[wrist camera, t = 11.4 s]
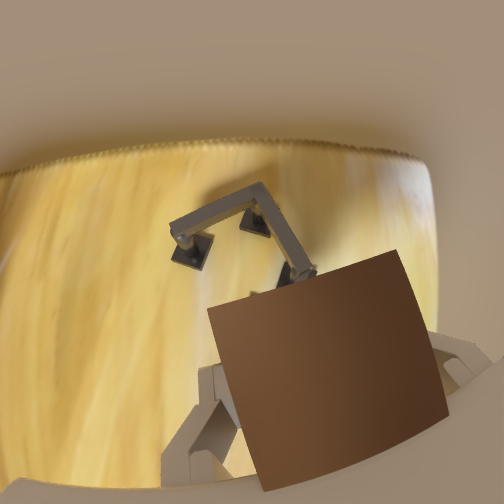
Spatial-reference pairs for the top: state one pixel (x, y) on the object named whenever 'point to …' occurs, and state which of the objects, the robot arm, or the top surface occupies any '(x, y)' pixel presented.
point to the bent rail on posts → (254, 220)
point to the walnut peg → (329, 370)
